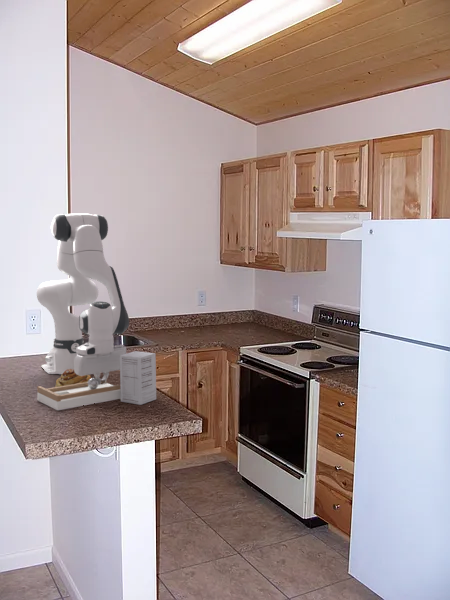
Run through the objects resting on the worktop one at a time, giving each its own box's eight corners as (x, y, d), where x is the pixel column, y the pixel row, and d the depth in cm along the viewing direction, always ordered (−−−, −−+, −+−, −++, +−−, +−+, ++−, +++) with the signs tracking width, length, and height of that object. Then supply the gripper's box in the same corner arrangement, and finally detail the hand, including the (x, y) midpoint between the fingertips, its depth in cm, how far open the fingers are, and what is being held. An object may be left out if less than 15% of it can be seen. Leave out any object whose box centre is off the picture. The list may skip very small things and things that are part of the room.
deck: (37, 400, 224) (37, 386, 223) (102, 389, 241) (102, 376, 240) (57, 410, 212) (57, 395, 211) (124, 397, 228) (124, 384, 228)
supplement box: (157, 399, 227) (157, 353, 225) (141, 405, 219) (140, 357, 217) (136, 395, 232) (135, 350, 230) (119, 401, 224) (119, 354, 222)
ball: (95, 386, 232) (86, 389, 229) (94, 375, 231) (84, 378, 228) (101, 388, 229) (91, 391, 226) (100, 377, 228) (90, 380, 225)
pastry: (49, 388, 242) (48, 368, 241) (82, 382, 252) (82, 362, 252) (68, 395, 233) (68, 373, 232) (102, 388, 243) (101, 367, 242)
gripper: (121, 342, 238) (121, 378, 240) (71, 348, 225) (72, 386, 227) (130, 344, 234) (130, 381, 235) (80, 351, 220) (80, 390, 222)
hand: (101, 384), depth 231 cm, fingers closed
